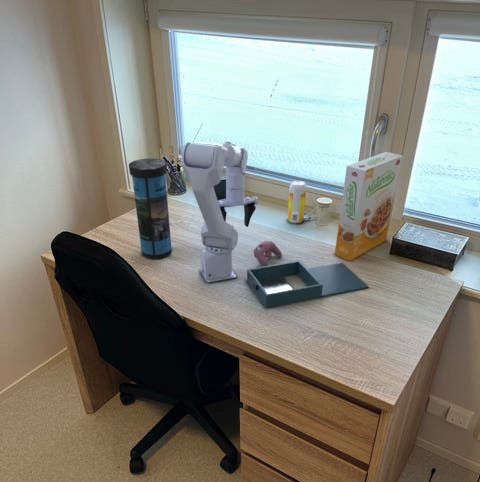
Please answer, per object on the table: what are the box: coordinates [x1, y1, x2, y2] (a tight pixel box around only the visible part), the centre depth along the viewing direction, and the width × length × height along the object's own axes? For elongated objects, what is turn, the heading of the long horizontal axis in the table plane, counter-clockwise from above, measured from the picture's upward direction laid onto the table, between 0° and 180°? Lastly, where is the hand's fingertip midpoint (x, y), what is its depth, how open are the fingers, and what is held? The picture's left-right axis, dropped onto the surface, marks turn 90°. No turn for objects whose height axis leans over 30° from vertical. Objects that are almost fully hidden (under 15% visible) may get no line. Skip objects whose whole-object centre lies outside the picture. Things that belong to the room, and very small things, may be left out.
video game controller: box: [253, 240, 283, 267], centre depth 151 cm, size 10×5×7 cm, turn 144°
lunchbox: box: [246, 260, 369, 309], centre depth 139 cm, size 34×15×4 cm, turn 110°
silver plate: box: [258, 276, 293, 294], centre depth 137 cm, size 9×12×1 cm
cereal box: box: [334, 151, 404, 262], centre depth 153 cm, size 22×6×30 cm, turn 135°
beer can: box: [287, 180, 307, 224], centre depth 175 cm, size 6×6×15 cm
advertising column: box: [128, 158, 173, 260], centre depth 148 cm, size 11×11×30 cm
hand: (235, 227), depth 150 cm, fingers open, 7 cm apart
